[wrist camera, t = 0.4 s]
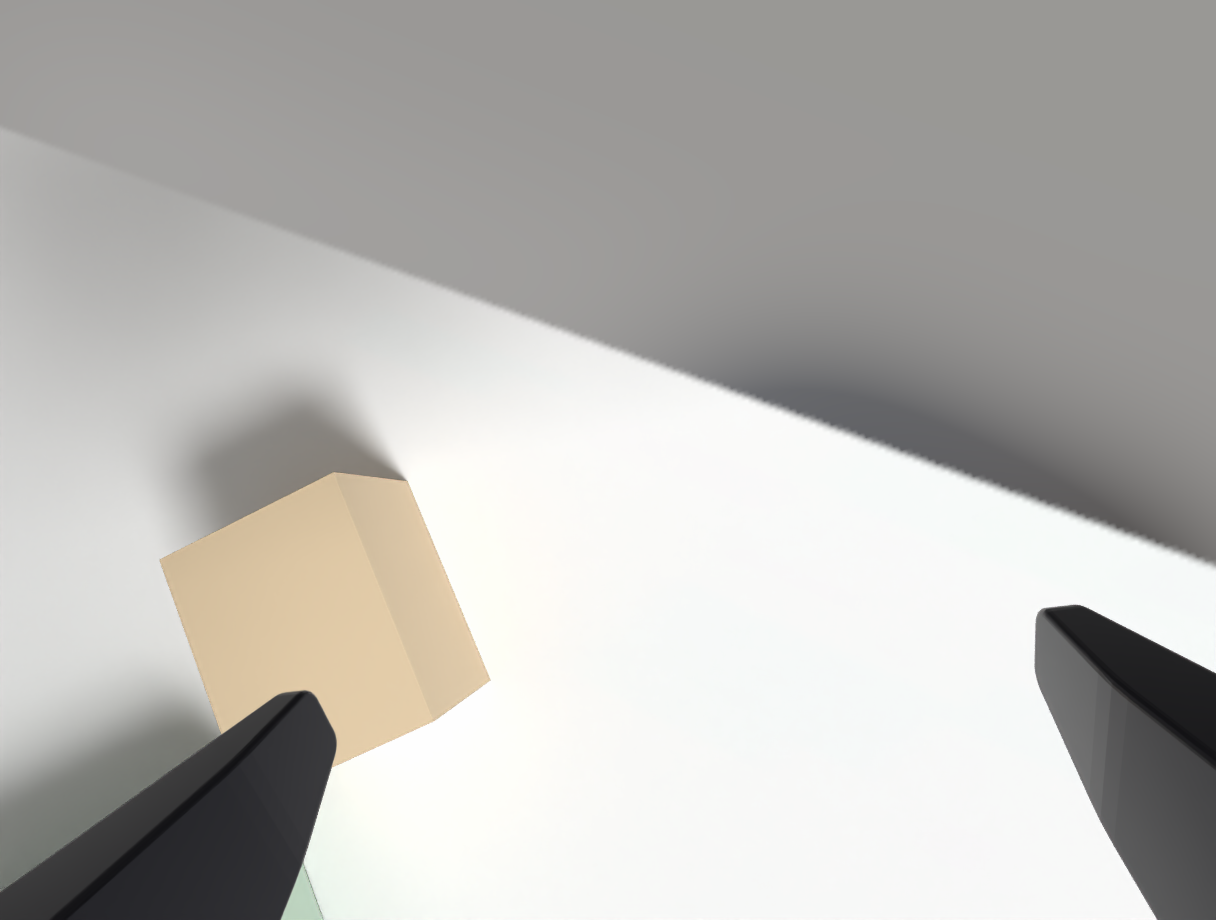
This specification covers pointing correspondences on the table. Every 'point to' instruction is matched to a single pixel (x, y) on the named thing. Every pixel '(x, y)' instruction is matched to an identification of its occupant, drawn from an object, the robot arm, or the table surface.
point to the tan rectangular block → (328, 612)
